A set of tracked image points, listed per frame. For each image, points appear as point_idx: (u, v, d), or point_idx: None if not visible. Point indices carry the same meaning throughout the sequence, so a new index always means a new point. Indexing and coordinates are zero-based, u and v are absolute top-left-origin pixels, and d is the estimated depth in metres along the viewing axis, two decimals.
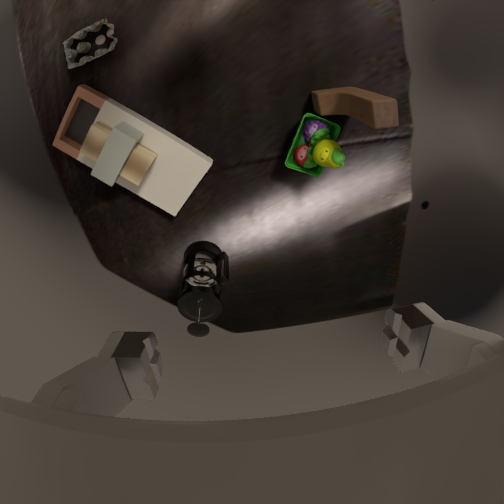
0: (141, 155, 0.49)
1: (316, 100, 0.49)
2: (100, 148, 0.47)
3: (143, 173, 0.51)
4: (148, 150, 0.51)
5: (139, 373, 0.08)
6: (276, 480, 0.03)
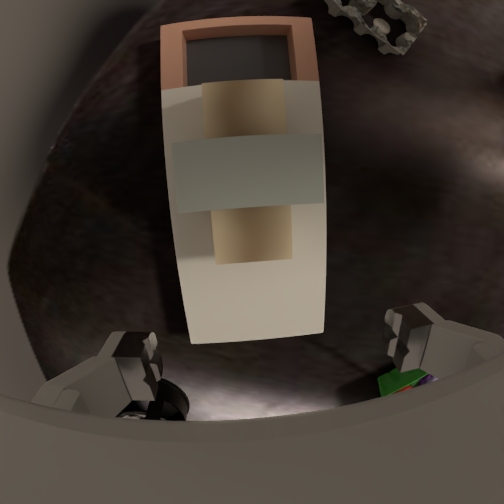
0: (287, 229, 0.23)
1: None
2: (242, 128, 0.20)
3: (250, 257, 0.23)
4: None
5: (139, 373, 0.08)
6: (275, 480, 0.03)
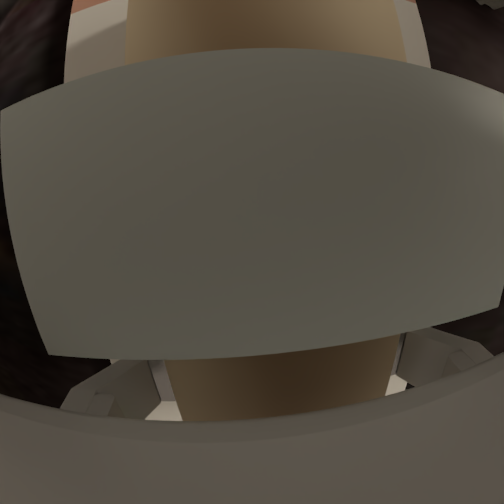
0: (383, 367, 0.07)
1: None
2: (262, 42, 0.05)
3: None
4: None
5: None
6: (276, 480, 0.03)
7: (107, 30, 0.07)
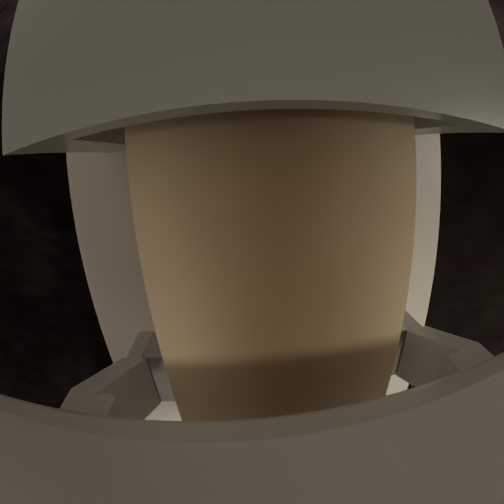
0: (385, 365, 0.07)
1: None
2: None
3: None
4: None
5: None
6: (276, 480, 0.03)
7: None
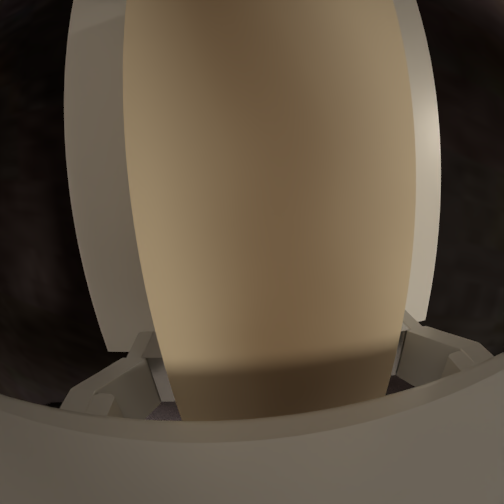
0: (384, 364, 0.07)
1: None
2: (260, 36, 0.05)
3: None
4: None
5: None
6: (275, 480, 0.03)
7: None
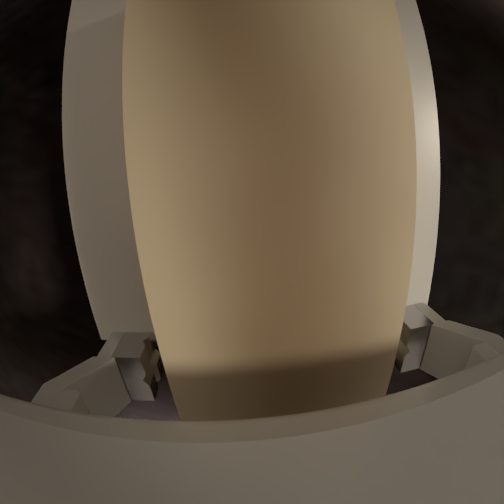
0: (385, 362, 0.07)
1: None
2: (260, 32, 0.05)
3: None
4: None
5: (139, 373, 0.08)
6: (276, 480, 0.03)
7: None
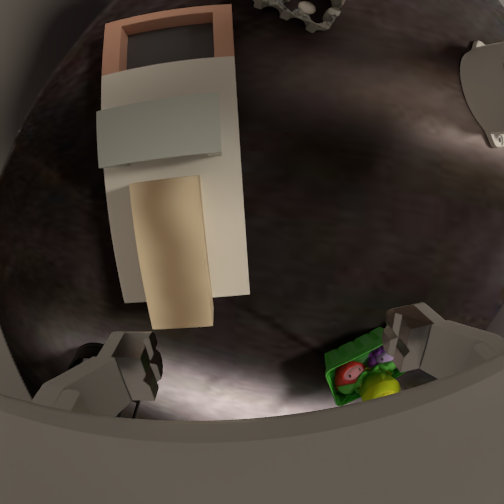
0: (206, 304, 0.27)
1: None
2: (163, 223, 0.25)
3: (178, 324, 0.28)
4: (211, 294, 0.30)
5: (139, 373, 0.08)
6: (276, 480, 0.03)
7: (116, 85, 0.24)
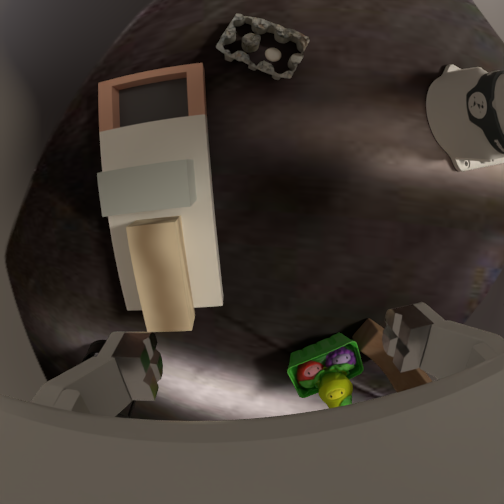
0: (186, 314, 0.36)
1: (370, 334, 0.43)
2: (152, 256, 0.33)
3: (166, 328, 0.36)
4: (192, 306, 0.39)
5: (139, 373, 0.08)
6: (275, 480, 0.03)
7: (112, 140, 0.33)
